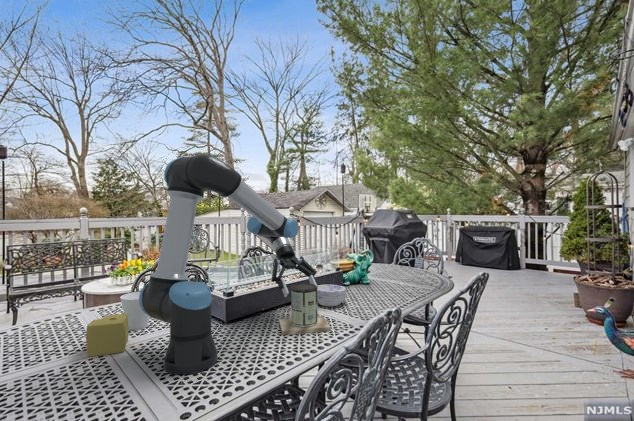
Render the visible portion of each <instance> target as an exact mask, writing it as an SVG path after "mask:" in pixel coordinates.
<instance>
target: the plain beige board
mask: <svg viewBox="0 0 634 421" xmlns="http://www.w3.org/2000/svg"><path fill="white" fill-rule="evenodd" d="M291 322H292V317H291V318H290V317H288V318H279V319H278V324H279V327H280V330H281V331H280V332H281V335H282V336H285V335H286V334H288V335H297V334H298V335H299V333H300V334H312V333H323V332H331V331H332V330H331V328H332V327H331V326H330V324H329V323H328V321H327V320H326V318H325V317H324V316H323V315H317V322H318V323H317V324H316V325H314V326H311V327H297V326H294V325H292V324H291ZM286 336H287V335H286Z"/></svg>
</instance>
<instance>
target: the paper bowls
mask: <svg viewBox="0 0 634 421" xmlns="http://www.w3.org/2000/svg"><path fill="white" fill-rule="evenodd" d="M317 286H318V289H317V304H319V305H321V306H323V307H331V308H332V307H337V306H340V305H341V303H342V301H345V300H346V298H347V297H346V292H347V291H346V287H345V286H344V285H338V284H320V285H319V284H317Z"/></svg>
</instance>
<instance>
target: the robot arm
mask: <svg viewBox="0 0 634 421" xmlns="http://www.w3.org/2000/svg"><path fill="white" fill-rule="evenodd" d="M163 179H164V182H165V183H166V186H167V191H166V193H167V195H168V197H170V201H169V206H168V211H167V215H166V222H165V227H164V232H163V238H162V242H161V246H160V251H159V257H158V262H157V267H156V270H155V271H154V272H152V273H151V274H150V276H149V281H148V282H147V283H146V285H144V286H142V288H141V289H140V291H139V292H140V296H139V304H140V307H141V309H142V310H143V312H144V313H146V314H147V315H149V316H150V317H149V318H152V319H155V320H160V321H162V322H165V323H167V324H169V325H170V326H169V334H170V335H169V336H170V337H169V342H168V346H167V348H166V352H165V355H164V358H163V368H164V370H165V371H166V372H167V373H169V374H173V375H174V374H175V375H192V374H196V373H200V372H203V371H206V370H208V369H210V368H211V367H213V366H215V364H216V363H217V362H218V360H219V359H218V358H219V357H218V349H217V346H216V343H215V341H214V337H213V335H212V301H213V298H212V291H211V288H210V286H209V285H207V284H206V283H204V282H200V281H192V280H189V277H188V276H187V275H186V269H187V262H188V257H189V251H190V246H191V241H192V235H193V230H194V225H195V224H194V223H195V218H196V213H197V208H198V204H199V202H201V201H202V200H203V199H204V195H205V191H208V192H209V191H210V192H213V193H216V194H218V195H219V196H221V197H222V198H228V199H230V201H232V202H233V203H234V204H236V205H237V206H239V207H240V208H242V210H244V211H246V212H247V213H248V214H249V215H250V218H249V219H248V220H247V223H246V229H247V231H248V232H249V233H251V234H253V235H257V236H259V237H261V238H265V239H267V240H269V241H270V243H271V245H272V248H273V250H274V252H275V256H276V258H274V259H273V261H272V267H273V268H272V273H271V274H272V275H271V282H273V283H275V284H277V285H278V288H279V290H282V294H283V296H284V298H288V295H289V294H290V292H289V289H288V287H287V285H286V281H285V280H284V278H283V275H284V273H285V270H294V269H295V270H297V271H299V272H300V273H302V274H304V275H305V276H306V277H308V281H309V284H313V285H316V286H317V287H318V284H317V278H316V277H315V276H316V274H317V270H316V269H315V268H314V267H313V266H312V265H311V264H310V263H308V262H307V260H306V259H305V258H304V257H303V256H300V257H296V253H295V251H294V248H293V246H292V244H291V242H290V239H292V238H293V239H294V238H295V237H296V236H297V235H298V234H299V231H300V225H299V223H298V221H297V220H296V219H294V218H287V217H286V216H285V215H283V214H282V213H281V212H280V211H279V210H278V209H277V208H275V207H274V206H273V205H272V204H271V203H269V201H268V200H266V199H265V198H263V197H262V196H261V195H260V194H259V193H258V192H257V191H255V189H253V188H252V187H250V186H249V184H247V183H246V182H245V181H244V180H243V178H242V175H241V174H240V173H239V172H238V171H237V170H236V169H234V168H233V167H231V165H229V164H228V163H226V162H225V161H223V160H222V159H220V158H218V157H216V156H213V155H209V154H198V155H192V156H181V157H178V158H176V159H173V160H171V161H170V162H169V163H168V164H167V165H166V166H165V169H164V172H163ZM279 265H281V266H282V267H281V269H280V272H279V273H278V267H279ZM317 289H318V288H317Z"/></svg>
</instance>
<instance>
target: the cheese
mask: <svg viewBox="0 0 634 421" xmlns="http://www.w3.org/2000/svg"><path fill="white" fill-rule="evenodd" d="M85 333H86V335H85V340H86V342H85V343H86V352H87V357H88V358H91V357H92V358H93V357H98V356H106V355H112V354H113V355H114V354H117V353H118V354H120V353H124V351H125V350H126V346H127V343H128V342H129V329H128V314H124V313H119V314H110V315H105V316H104V317H102V318H99V319H98V318H97V319H93V320H92V321H91V322H89V323H88V324H87V327H86V332H85Z"/></svg>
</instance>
